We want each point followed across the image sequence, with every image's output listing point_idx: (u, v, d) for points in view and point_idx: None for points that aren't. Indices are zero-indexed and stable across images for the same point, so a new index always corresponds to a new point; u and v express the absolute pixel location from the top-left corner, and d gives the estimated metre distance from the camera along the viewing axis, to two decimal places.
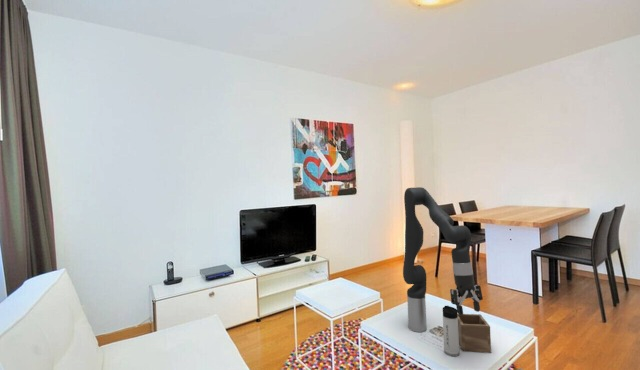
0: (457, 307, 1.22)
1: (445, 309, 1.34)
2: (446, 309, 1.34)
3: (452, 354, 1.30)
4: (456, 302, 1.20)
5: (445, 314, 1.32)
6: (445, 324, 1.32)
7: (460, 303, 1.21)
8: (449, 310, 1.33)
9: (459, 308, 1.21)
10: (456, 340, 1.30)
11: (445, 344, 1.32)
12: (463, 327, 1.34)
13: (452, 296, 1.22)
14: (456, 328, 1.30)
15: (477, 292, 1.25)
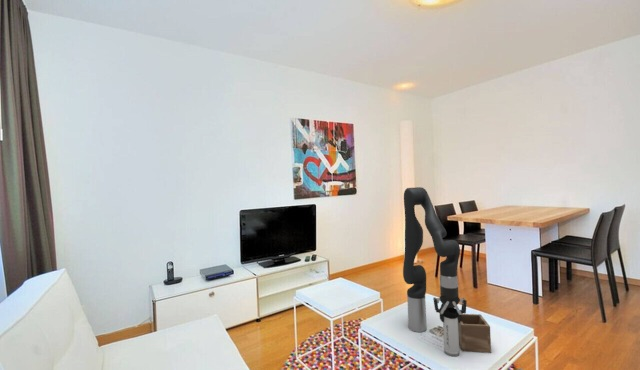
0: (440, 314, 1.34)
1: (445, 309, 1.34)
2: (446, 309, 1.34)
3: (452, 354, 1.30)
4: (437, 310, 1.33)
5: (445, 314, 1.32)
6: (445, 324, 1.32)
7: (441, 311, 1.32)
8: (450, 310, 1.33)
9: (440, 315, 1.33)
10: (456, 340, 1.30)
11: (445, 344, 1.32)
12: (463, 327, 1.34)
13: (434, 304, 1.34)
14: (456, 328, 1.30)
15: (462, 305, 1.32)
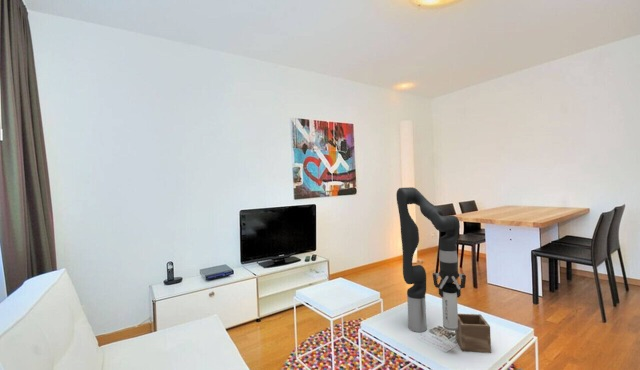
0: (439, 289, 1.34)
1: (444, 284, 1.34)
2: (445, 284, 1.34)
3: (451, 328, 1.30)
4: (436, 285, 1.33)
5: (444, 289, 1.32)
6: (444, 299, 1.32)
7: (440, 286, 1.32)
8: (449, 285, 1.33)
9: (439, 290, 1.33)
10: (455, 315, 1.30)
11: (444, 319, 1.32)
12: (463, 327, 1.34)
13: (433, 279, 1.34)
14: (455, 303, 1.30)
15: (461, 280, 1.31)
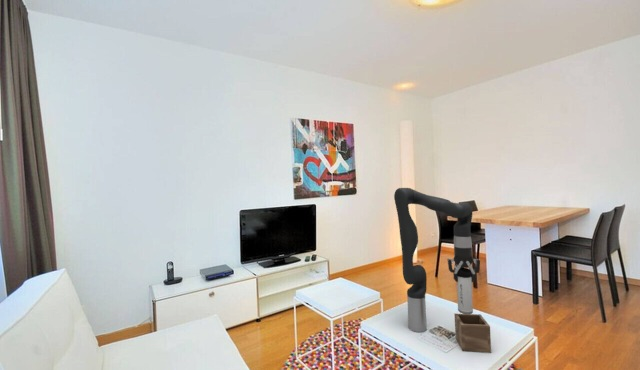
0: (454, 274, 1.38)
1: (459, 270, 1.38)
2: (460, 270, 1.38)
3: (466, 312, 1.34)
4: (451, 270, 1.37)
5: (459, 274, 1.36)
6: (459, 283, 1.36)
7: (455, 271, 1.37)
8: (463, 270, 1.37)
9: (454, 275, 1.37)
10: (470, 298, 1.34)
11: (459, 303, 1.36)
12: (463, 327, 1.34)
13: (448, 265, 1.39)
14: (470, 287, 1.34)
15: (476, 265, 1.36)
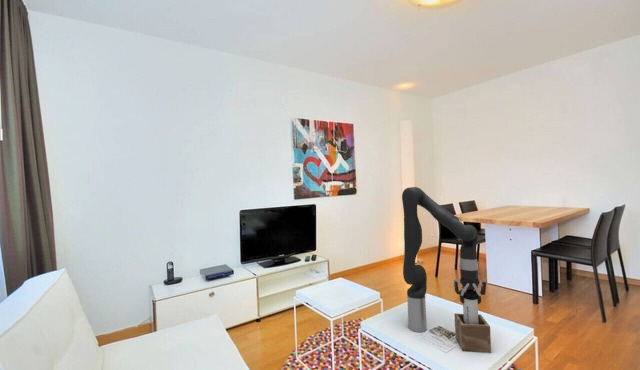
0: (460, 296, 1.40)
1: None
2: (466, 291, 1.40)
3: None
4: (457, 292, 1.39)
5: (465, 296, 1.37)
6: (465, 305, 1.37)
7: (462, 293, 1.38)
8: (470, 292, 1.39)
9: (461, 297, 1.39)
10: (476, 320, 1.36)
11: None
12: (463, 327, 1.34)
13: (454, 286, 1.40)
14: (476, 309, 1.36)
15: (482, 287, 1.37)
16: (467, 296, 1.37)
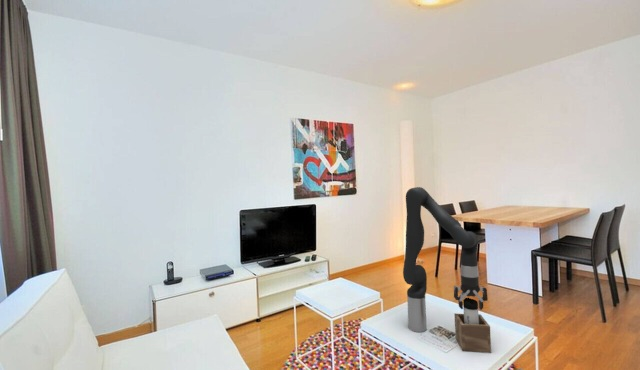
0: (459, 302, 1.40)
1: (466, 301, 1.40)
2: (467, 301, 1.40)
3: None
4: (456, 297, 1.39)
5: (466, 305, 1.37)
6: (466, 315, 1.37)
7: (460, 299, 1.38)
8: (470, 302, 1.39)
9: (459, 303, 1.39)
10: None
11: None
12: (463, 327, 1.34)
13: (454, 292, 1.40)
14: (477, 319, 1.36)
15: (483, 293, 1.37)
16: (468, 306, 1.37)
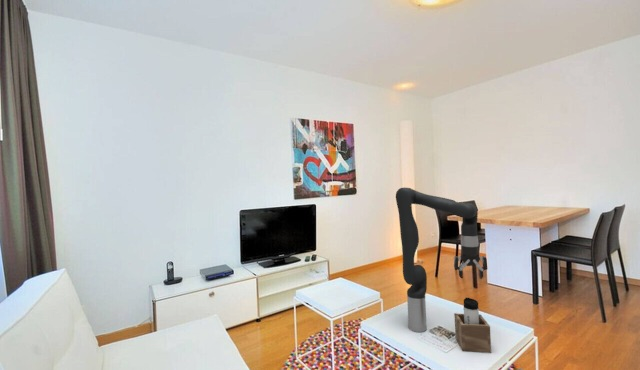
0: (459, 271, 1.43)
1: (466, 301, 1.40)
2: (467, 301, 1.40)
3: None
4: (456, 267, 1.42)
5: (466, 305, 1.37)
6: (466, 315, 1.37)
7: (460, 268, 1.42)
8: (470, 302, 1.39)
9: (459, 272, 1.42)
10: None
11: None
12: (463, 327, 1.34)
13: (454, 262, 1.43)
14: (477, 319, 1.36)
15: (483, 263, 1.41)
16: (468, 306, 1.37)
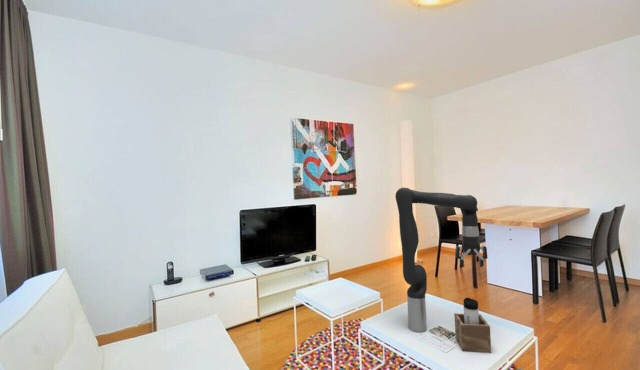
0: (460, 260, 1.49)
1: (466, 301, 1.40)
2: (467, 301, 1.40)
3: None
4: (457, 256, 1.48)
5: (466, 305, 1.37)
6: (466, 315, 1.37)
7: (462, 258, 1.47)
8: (470, 302, 1.39)
9: (461, 261, 1.48)
10: None
11: None
12: (463, 327, 1.34)
13: (456, 251, 1.49)
14: (477, 319, 1.36)
15: (483, 252, 1.46)
16: (468, 306, 1.37)
